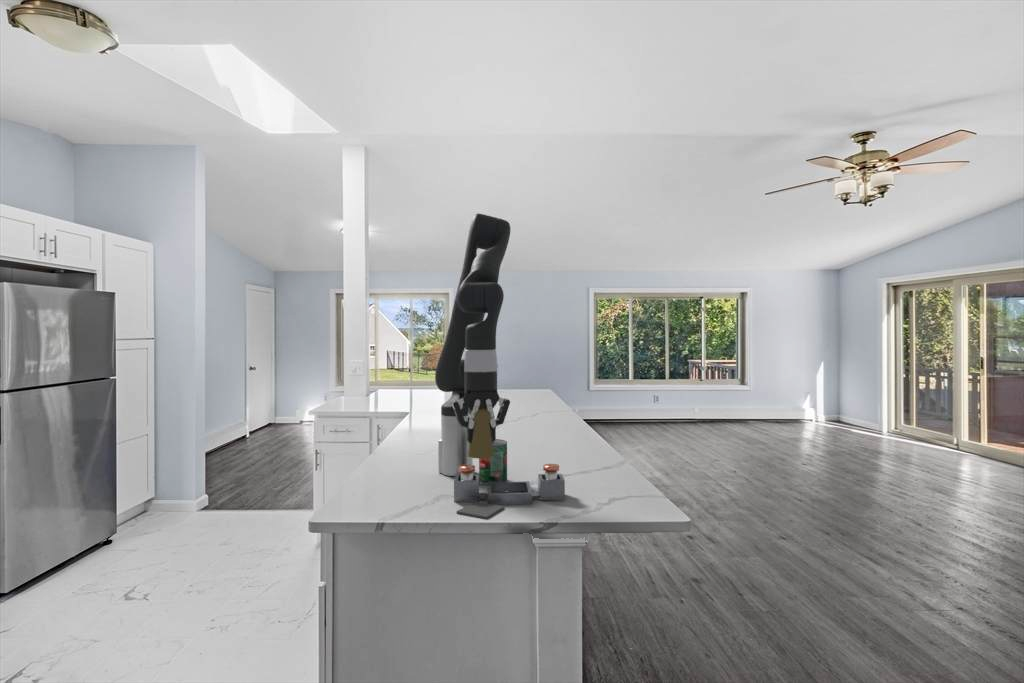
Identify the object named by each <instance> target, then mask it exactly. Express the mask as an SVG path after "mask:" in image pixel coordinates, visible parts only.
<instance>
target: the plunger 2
mask: <svg viewBox="0 0 1024 683" xmlns="http://www.w3.org/2000/svg"><path fill="white" fill-rule="evenodd" d="M542 468H543V469H542V470H543V471H544V474H545V480H554V479H557V474H558V472H559V471H560V465H559V464H556V463H545V464H543V465H542Z"/></svg>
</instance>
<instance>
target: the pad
mask: <svg viewBox="0 0 1024 683" xmlns="http://www.w3.org/2000/svg"><path fill="white" fill-rule="evenodd" d="M503 510H505V506H503V505H500V504H488V502H486V503H485V502H481V501H479V502H470V504H467V505H466V506H463V507H462V508H460V509H458V510H456V514H459V515H464V516H468V517H474V518H479V519H484V520H488V519H489V518H491V517H493V516H494V515H497V514H498V513H499V512H501V511H503Z"/></svg>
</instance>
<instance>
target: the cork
mask: <svg viewBox="0 0 1024 683" xmlns="http://www.w3.org/2000/svg"><path fill="white" fill-rule="evenodd" d="M471 413H472V412H471V411H470V414H471ZM490 420H491V414H490V412H489V411H488V410H487V409H478V411H476V412H475V413H474V419H473V421H474V426H473V429H474V432H473V439H472V445H471V443H469V450H468V457H471V458H473V459H479V458H490V457H493V456H494V451H493V444H492V438H491V431H490Z"/></svg>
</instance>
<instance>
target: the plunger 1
mask: <svg viewBox="0 0 1024 683" xmlns="http://www.w3.org/2000/svg"><path fill="white" fill-rule="evenodd" d="M475 471H476V466H475V465H474V464H473V465H461V466H459V472H461V480H473V475H474V472H475Z"/></svg>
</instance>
